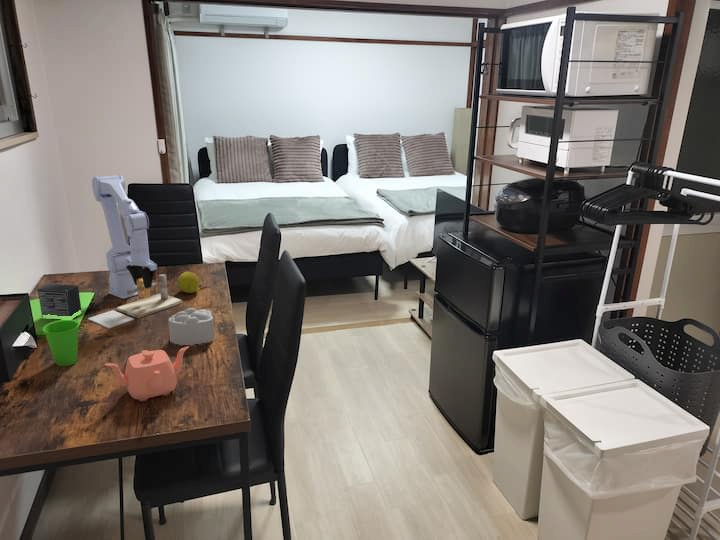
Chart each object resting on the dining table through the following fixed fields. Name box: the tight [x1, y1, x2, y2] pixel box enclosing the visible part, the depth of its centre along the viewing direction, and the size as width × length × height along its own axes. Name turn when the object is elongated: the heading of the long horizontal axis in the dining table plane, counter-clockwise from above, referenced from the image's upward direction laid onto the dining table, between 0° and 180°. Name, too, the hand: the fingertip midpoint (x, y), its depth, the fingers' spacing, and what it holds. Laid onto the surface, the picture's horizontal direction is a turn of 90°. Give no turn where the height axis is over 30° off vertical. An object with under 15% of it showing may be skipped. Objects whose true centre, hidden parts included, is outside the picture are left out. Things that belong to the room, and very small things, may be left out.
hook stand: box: [116, 274, 183, 319], centre depth 184 cm, size 12×18×10 cm, turn 146°
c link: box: [136, 278, 152, 299], centre depth 182 cm, size 5×2×6 cm, turn 56°
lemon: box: [177, 271, 200, 294], centre depth 199 cm, size 11×8×8 cm
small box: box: [37, 283, 82, 316], centre depth 174 cm, size 11×6×10 cm, turn 84°
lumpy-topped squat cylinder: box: [167, 307, 215, 346], centre depth 162 cm, size 10×13×9 cm
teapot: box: [104, 346, 190, 402], centre depth 131 cm, size 14×14×11 cm
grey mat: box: [87, 309, 135, 329], centre depth 174 cm, size 12×9×1 cm
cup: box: [41, 319, 81, 367], centre depth 144 cm, size 9×9×11 cm
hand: (143, 285), depth 182 cm, fingers closed on c link, 5 cm apart
